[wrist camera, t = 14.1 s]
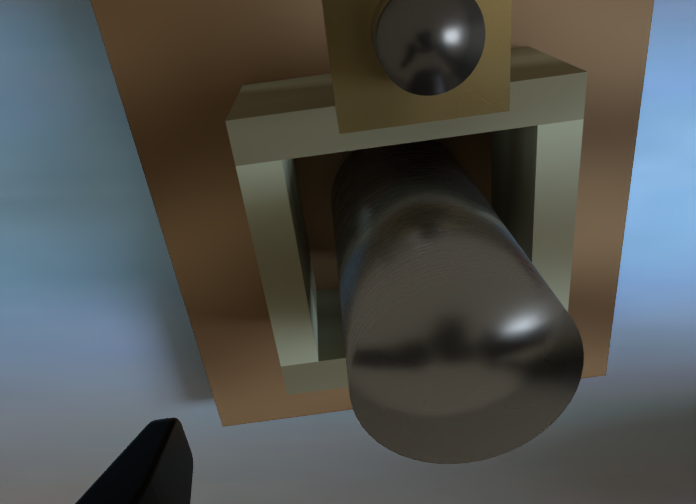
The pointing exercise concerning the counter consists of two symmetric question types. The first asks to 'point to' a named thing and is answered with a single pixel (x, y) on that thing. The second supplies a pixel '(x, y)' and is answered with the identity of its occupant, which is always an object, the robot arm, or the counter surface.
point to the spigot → (443, 311)
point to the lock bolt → (417, 60)
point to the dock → (330, 153)
